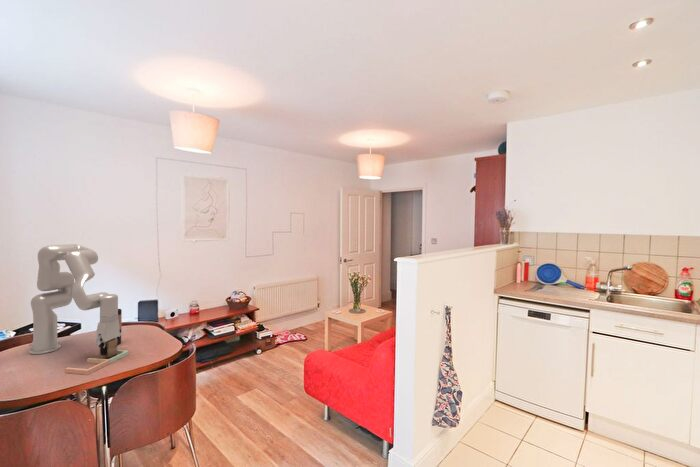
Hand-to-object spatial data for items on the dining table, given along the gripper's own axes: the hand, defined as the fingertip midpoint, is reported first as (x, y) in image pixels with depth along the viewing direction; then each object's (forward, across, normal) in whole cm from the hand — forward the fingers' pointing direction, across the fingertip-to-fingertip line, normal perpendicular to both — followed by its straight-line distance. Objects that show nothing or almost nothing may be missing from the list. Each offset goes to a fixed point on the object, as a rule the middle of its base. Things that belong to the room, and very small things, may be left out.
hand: (108, 352), depth 165 cm
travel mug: (+4, -18, -14) cm, 23 cm away
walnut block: (+2, 0, 0) cm, 2 cm away
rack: (+3, +6, 0) cm, 7 cm away
